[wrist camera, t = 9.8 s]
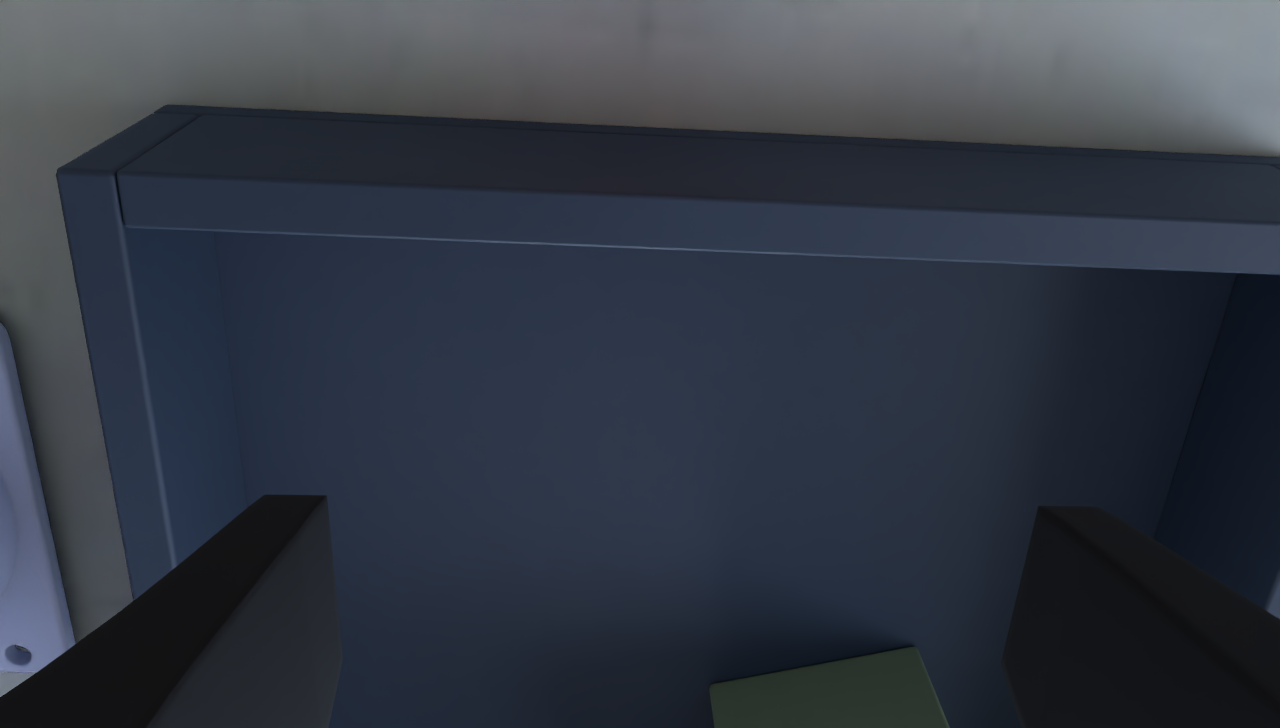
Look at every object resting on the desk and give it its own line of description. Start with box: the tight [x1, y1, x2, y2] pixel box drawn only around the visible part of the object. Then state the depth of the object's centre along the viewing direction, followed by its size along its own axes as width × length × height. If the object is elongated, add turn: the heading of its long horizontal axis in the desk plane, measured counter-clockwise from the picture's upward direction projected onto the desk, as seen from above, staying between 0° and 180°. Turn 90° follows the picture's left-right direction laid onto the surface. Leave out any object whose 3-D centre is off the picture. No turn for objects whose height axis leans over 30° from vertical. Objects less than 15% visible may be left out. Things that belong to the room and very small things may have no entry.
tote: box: [56, 105, 1280, 728], centre depth 20 cm, size 20×18×4 cm
